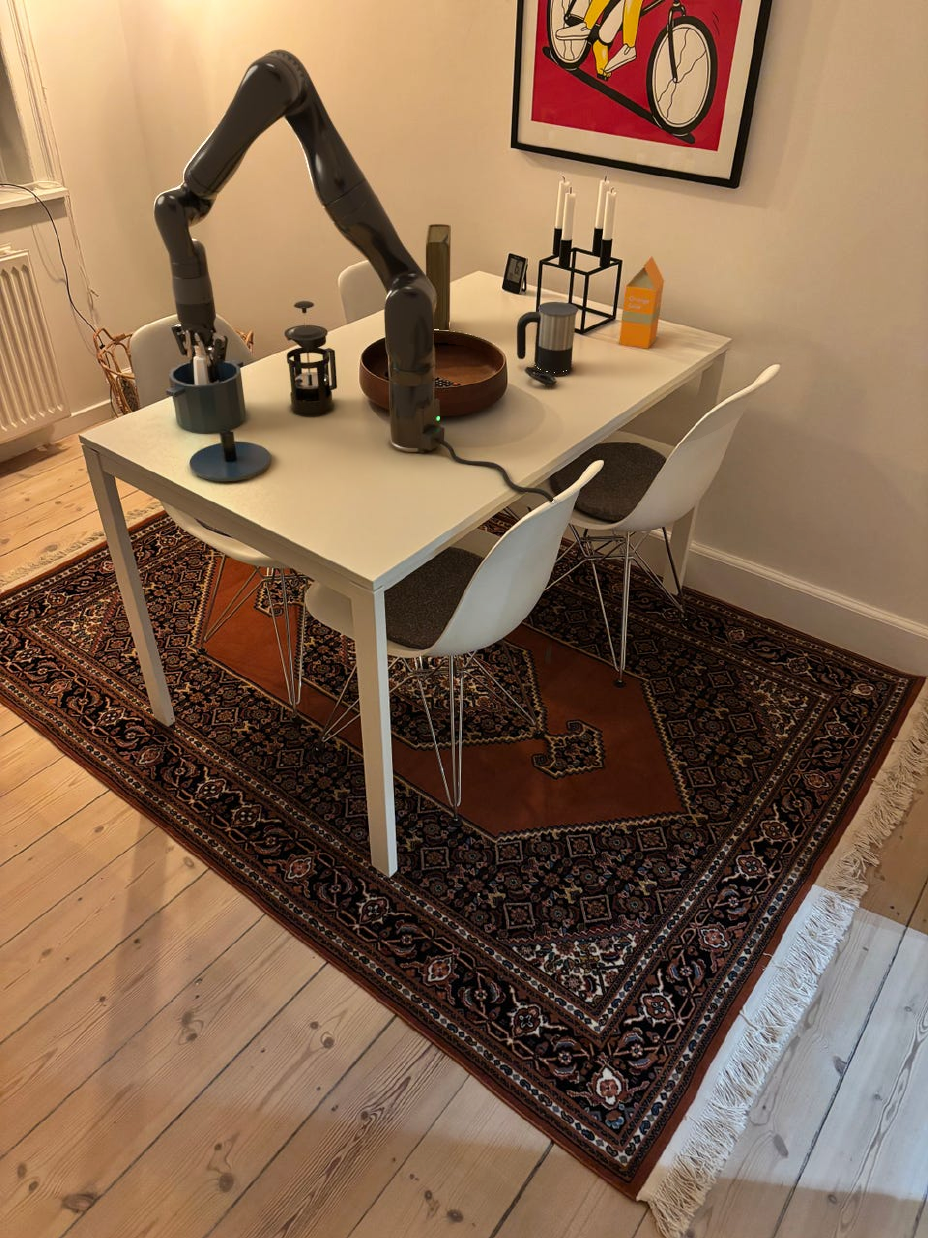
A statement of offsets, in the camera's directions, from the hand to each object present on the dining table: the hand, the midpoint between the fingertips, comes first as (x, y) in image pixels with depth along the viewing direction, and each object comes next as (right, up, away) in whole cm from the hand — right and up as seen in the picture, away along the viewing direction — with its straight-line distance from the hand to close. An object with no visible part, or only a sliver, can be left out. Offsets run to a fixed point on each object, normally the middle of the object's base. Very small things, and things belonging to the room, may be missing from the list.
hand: (206, 378), depth 201 cm
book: (+47, +23, +48) cm, 71 cm away
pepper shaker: (0, -3, +2) cm, 4 cm away
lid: (+8, -19, -11) cm, 24 cm away
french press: (+21, -4, +11) cm, 24 cm away
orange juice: (+98, +21, +46) cm, 111 cm away
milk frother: (+74, +7, +27) cm, 79 cm away
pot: (0, -7, +5) cm, 9 cm away
